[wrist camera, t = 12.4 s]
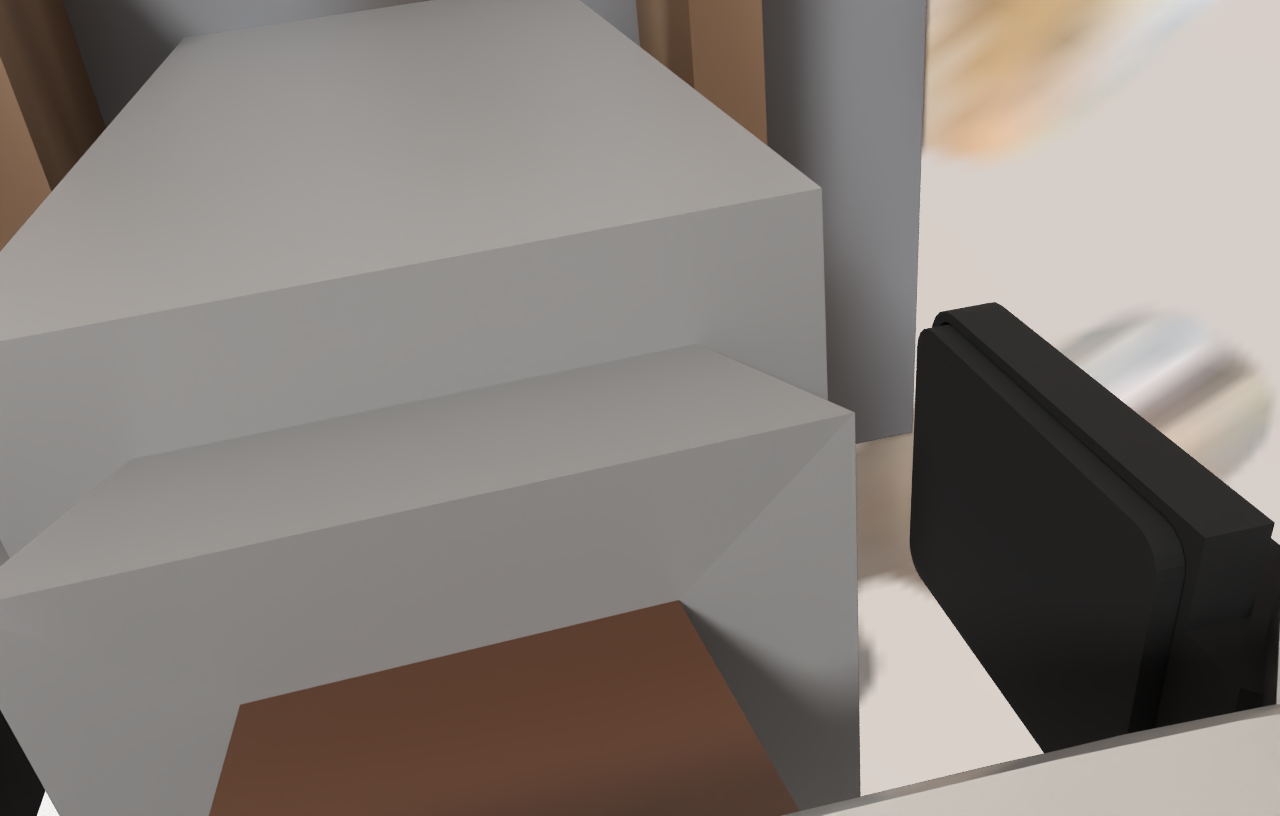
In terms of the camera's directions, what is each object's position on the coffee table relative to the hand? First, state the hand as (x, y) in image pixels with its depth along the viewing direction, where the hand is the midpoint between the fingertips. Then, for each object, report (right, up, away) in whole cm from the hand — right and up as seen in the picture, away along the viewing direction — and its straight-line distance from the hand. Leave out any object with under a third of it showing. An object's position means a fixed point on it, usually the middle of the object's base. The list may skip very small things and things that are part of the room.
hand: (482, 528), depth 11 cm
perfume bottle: (-3, +6, +11) cm, 13 cm away
